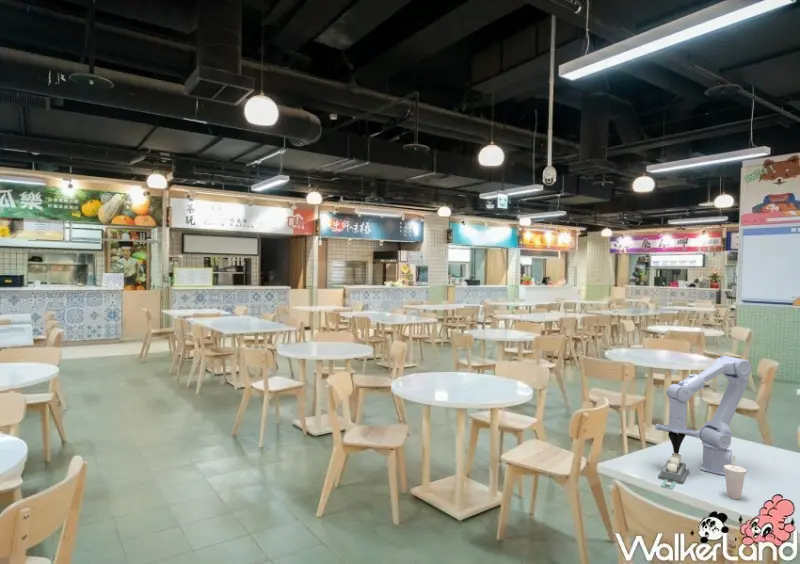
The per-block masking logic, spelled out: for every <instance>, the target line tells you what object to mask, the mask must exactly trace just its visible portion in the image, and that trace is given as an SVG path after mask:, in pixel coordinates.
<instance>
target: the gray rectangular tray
mask: <svg viewBox="0 0 800 564" xmlns="http://www.w3.org/2000/svg"><path fill="white" fill-rule="evenodd" d="M668 463H670V459H668V460H667V462H666V463H665V464H664V466H663V468H662V469H661V471H660V472H659V474H658V476H657V477H658V478H657V479H659V480H663V481H664V480H665V479H667V480H672V481H675V482H676V484H680V485H684V484H685V482H686V480H687V477H688V476H689V473H690V469H689V468H688V469H687V464H686V463H684V462H681V466H679V470H677V474H676V473H671V472H667V466H668Z"/></svg>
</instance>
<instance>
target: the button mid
mask: <svg viewBox="0 0 800 564" xmlns="http://www.w3.org/2000/svg"><path fill="white" fill-rule="evenodd" d="M669 460H670V463H674V464H676V465H677V470H679V458H678V457H674V456H672V455H671V456H669Z"/></svg>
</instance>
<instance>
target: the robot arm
mask: <svg viewBox="0 0 800 564" xmlns="http://www.w3.org/2000/svg"><path fill="white" fill-rule="evenodd" d="M752 370H753V369H752V366H751V363H750V361H748V360H747V359H746V358H745V359H744V358H738V357H734V356H733V357H732V356H729V355H725V354H724V355H723V354H722V355H721V356H720V357H718V358H716V359H715V361H714V363H713V364H711V365H709V366H708V367H707V368H706V369H704V370H703V371H701V372H700V373H699V374H696V373H693V374H692V373H690V374H689V375H688V377H685V379H683V380H680V381H679V382H678V383H672V384H670V385H669V386H668V388H667V390H666V391H665V393H666V394H665V395H666V396H667V397H668V402H669V408H668V409H669V411H668V425H667V424H660V423H656V424H655V431H662V432H666V433H668V435H667V436H668V438H669V440H670V442H671V445H672V449H673V453H677V454H680V453H679V452H680V449H681V445H682V443H683V441H684V439H685V438H686V437H693V438H696V439H699V440H700V441H701V444H702V445H703V446H702V463H701V466H700V468H699V469H700V471H704V472H707V473H713V474H717V475H721V476H725V470H724V465H732V463H733V452H732V449H728V448H729V447H730V446H731V443H732V437H733V432H732V430H731V428H730V424H731V421H732V420H733V417H734V415H735V413H736V410H737V408H738V406H739V404H740V401H741V399H742V397H743V396H744V395H743V394H745V393H744V392H745V390H746V388H747V386H748V383H749V382H748V381H749V378H750V375H751V372H752ZM722 374H723V376H724V377H725V378H726V379H727V381H728V384H727V386H726V388H725V390H724V392H723V396H722V397H721V400H720V402H719V404H718V407H717V409H716V411H715V413H714V415H713V418H712V419H709V420H707V421H705V423H704V425H703V426H702V427H701V428H700V429H699V431H697V430H693V429H691V428H690V429H689V428H687V412H688V411H687V410H688V408H687V407H688V402H689V401H690V400H691V399H692V396H693V395H694V394H695V393H697V392H698V391H700V390H702V389H703V388H705V386H706V383H707V382H708V381H710V380H712V379H714V378H717V377H718V376H721V375H722Z"/></svg>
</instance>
